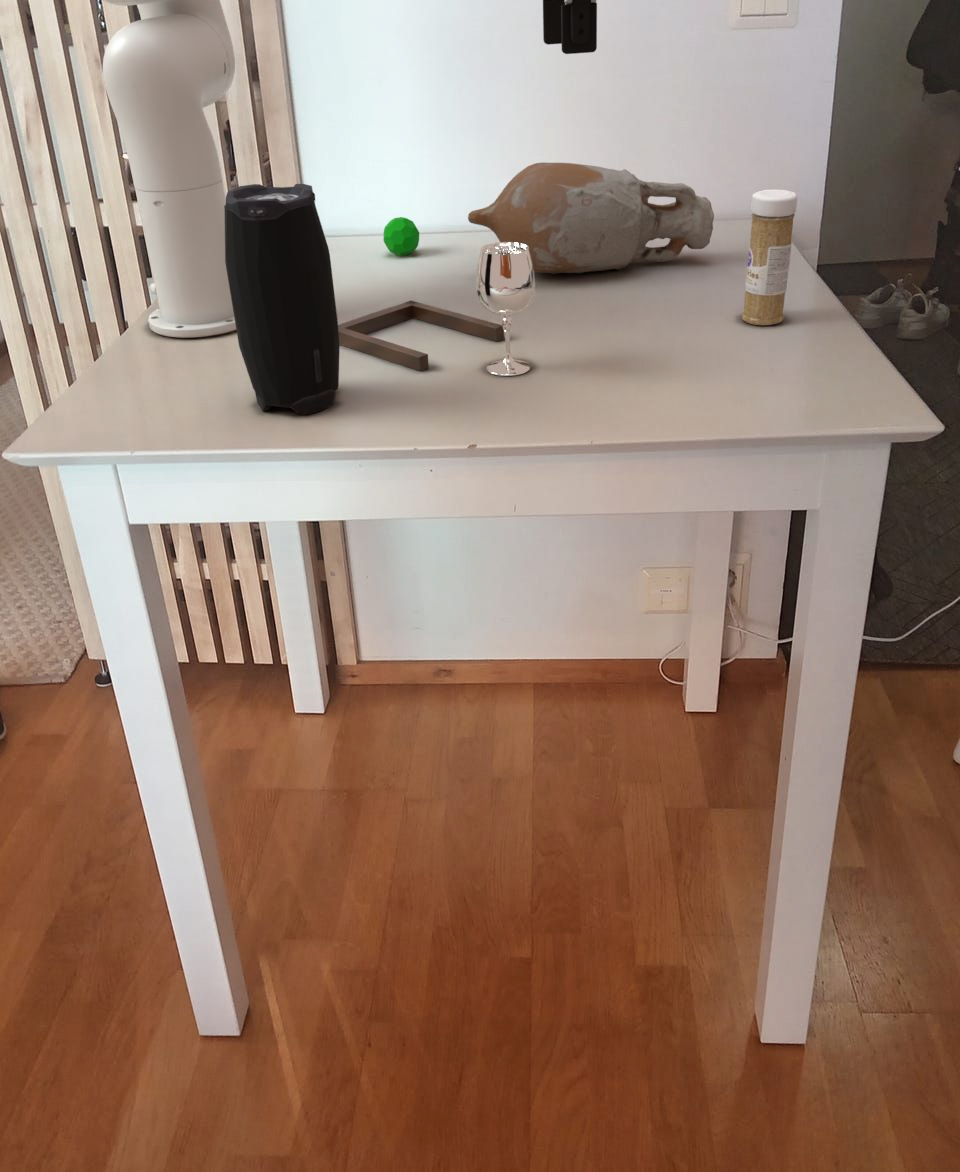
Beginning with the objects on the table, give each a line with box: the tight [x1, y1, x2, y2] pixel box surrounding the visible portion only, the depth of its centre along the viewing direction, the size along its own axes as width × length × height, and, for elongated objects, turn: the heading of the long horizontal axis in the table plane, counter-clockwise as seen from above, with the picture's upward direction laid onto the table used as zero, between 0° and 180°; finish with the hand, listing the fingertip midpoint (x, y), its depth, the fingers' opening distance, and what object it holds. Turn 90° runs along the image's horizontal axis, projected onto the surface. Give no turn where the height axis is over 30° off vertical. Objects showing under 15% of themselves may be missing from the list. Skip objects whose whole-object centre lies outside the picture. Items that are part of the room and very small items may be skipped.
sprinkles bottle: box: [741, 189, 798, 326], centre depth 114 cm, size 5×5×14 cm
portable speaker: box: [224, 183, 341, 416], centre depth 98 cm, size 9×9×20 cm
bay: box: [338, 300, 505, 372], centre depth 117 cm, size 15×12×2 cm
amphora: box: [467, 162, 715, 275], centre depth 134 cm, size 14×16×30 cm
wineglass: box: [475, 241, 536, 377], centre depth 105 cm, size 6×6×12 cm
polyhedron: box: [383, 216, 420, 257], centre depth 147 cm, size 5×5×5 cm
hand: (569, 47), depth 103 cm, fingers open, 9 cm apart
